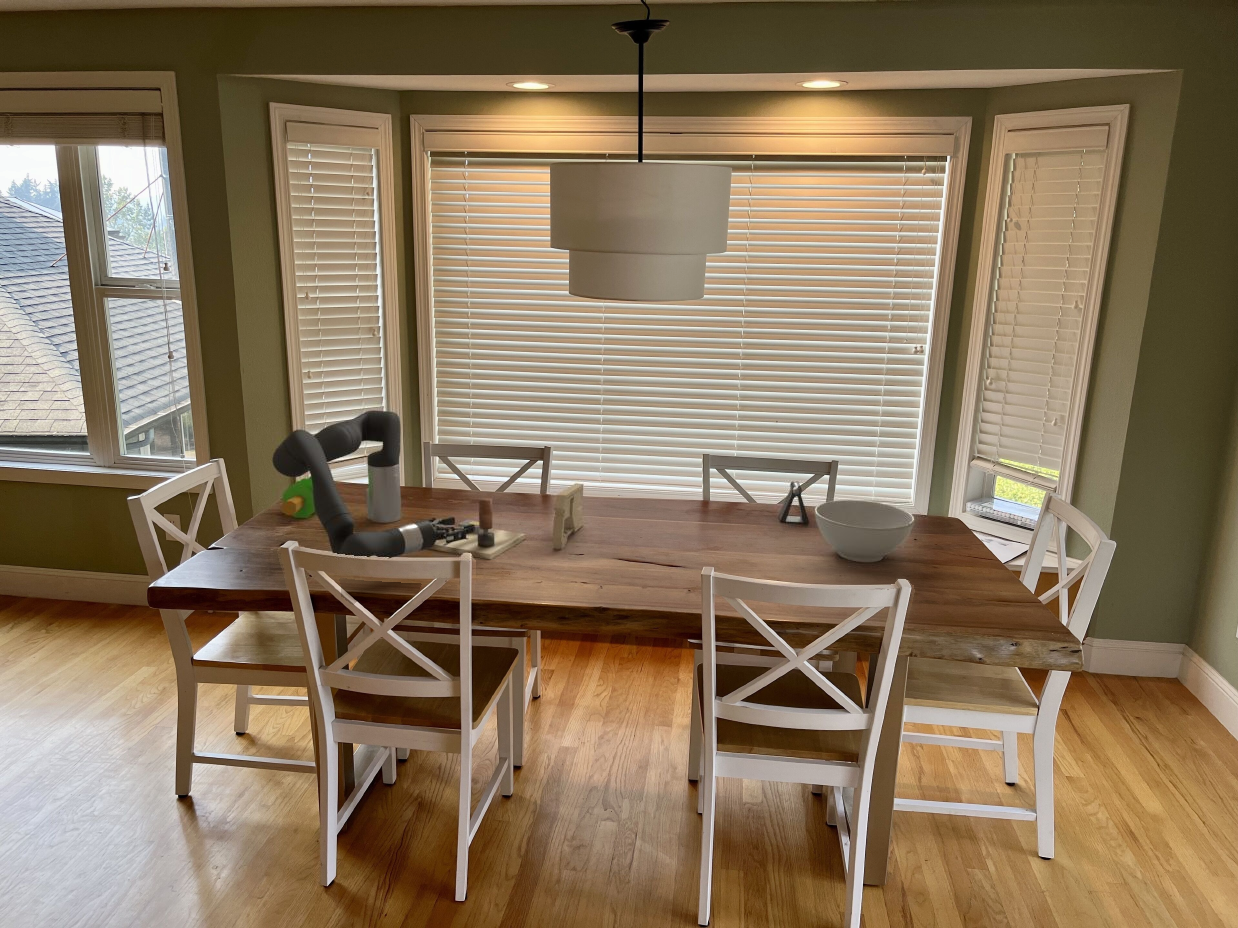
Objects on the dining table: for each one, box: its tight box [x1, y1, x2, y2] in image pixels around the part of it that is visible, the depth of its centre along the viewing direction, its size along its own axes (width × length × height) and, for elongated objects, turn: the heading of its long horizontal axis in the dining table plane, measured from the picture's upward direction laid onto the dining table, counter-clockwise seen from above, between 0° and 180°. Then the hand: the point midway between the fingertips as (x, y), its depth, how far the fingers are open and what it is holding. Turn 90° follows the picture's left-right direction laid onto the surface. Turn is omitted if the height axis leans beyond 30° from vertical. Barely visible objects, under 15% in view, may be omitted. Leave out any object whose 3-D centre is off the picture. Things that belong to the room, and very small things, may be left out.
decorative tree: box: [280, 475, 316, 519], centre depth 280 cm, size 11×12×30 cm
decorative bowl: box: [814, 499, 916, 563], centre depth 250 cm, size 27×27×12 cm
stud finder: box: [457, 518, 483, 534], centre depth 260 cm, size 7×5×2 cm
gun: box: [551, 482, 584, 550], centre depth 259 cm, size 24×3×15 cm, turn 168°
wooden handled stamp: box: [478, 497, 495, 548], centre depth 246 cm, size 5×5×13 cm
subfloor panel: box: [429, 528, 526, 560], centre depth 253 cm, size 20×19×2 cm
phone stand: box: [778, 480, 810, 525], centre depth 280 cm, size 9×6×12 cm, turn 84°
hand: (464, 524), depth 240 cm, fingers open, 8 cm apart
